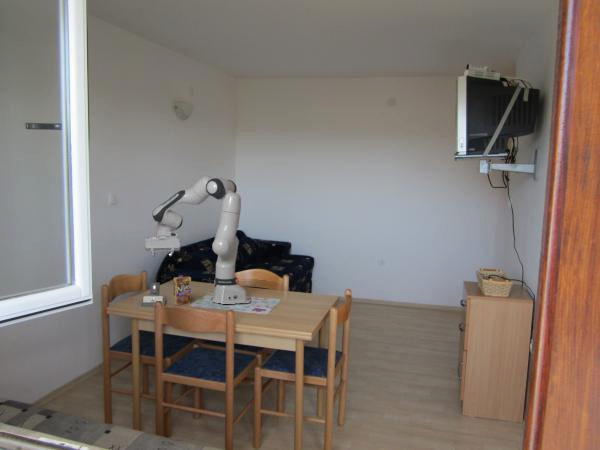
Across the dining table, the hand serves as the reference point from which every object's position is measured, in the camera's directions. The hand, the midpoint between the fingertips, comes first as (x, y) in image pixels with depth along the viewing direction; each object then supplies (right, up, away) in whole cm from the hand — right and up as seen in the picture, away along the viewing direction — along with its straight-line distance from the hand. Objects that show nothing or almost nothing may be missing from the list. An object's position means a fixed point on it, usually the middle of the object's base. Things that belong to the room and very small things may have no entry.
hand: (162, 255), depth 270 cm
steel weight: (-1, -23, -11) cm, 25 cm away
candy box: (+14, -27, -10) cm, 32 cm away
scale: (-1, -26, -13) cm, 29 cm away
